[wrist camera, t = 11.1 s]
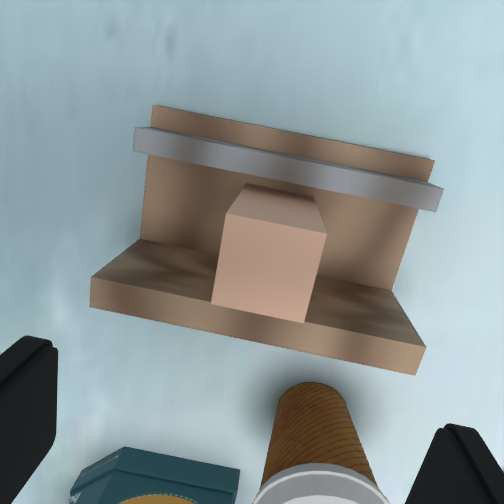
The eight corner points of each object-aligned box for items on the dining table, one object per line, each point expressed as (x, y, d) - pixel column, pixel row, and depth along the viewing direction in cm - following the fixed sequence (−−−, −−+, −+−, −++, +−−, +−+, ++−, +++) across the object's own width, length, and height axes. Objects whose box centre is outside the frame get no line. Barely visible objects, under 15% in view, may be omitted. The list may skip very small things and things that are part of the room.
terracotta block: (246, 183, 28) (226, 213, 19) (313, 196, 28) (327, 234, 19) (235, 246, 30) (210, 304, 20) (298, 259, 30) (303, 323, 20)
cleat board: (141, 268, 32) (88, 321, 24) (157, 105, 28) (100, 97, 19) (377, 317, 32) (409, 389, 23) (429, 159, 28) (493, 175, 19)
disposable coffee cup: (282, 351, 34) (280, 467, 22) (383, 389, 34) (431, 522, 23) (245, 430, 37) (226, 568, 25) (337, 465, 37) (360, 615, 26)
